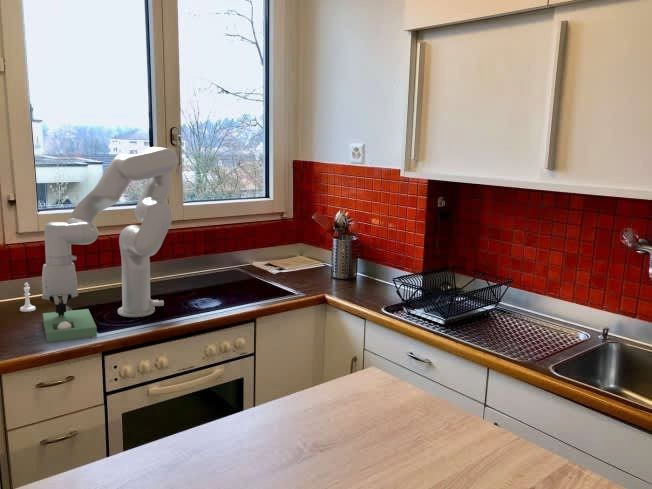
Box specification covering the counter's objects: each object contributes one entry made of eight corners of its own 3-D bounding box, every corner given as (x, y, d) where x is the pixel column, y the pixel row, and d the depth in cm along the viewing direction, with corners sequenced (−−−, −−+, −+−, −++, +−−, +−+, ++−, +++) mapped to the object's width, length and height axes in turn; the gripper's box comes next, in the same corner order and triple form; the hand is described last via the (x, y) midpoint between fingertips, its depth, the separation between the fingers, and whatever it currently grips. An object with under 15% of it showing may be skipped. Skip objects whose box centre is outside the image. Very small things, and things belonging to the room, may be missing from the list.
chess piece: (28, 312, 192) (27, 284, 190) (16, 310, 193) (15, 283, 191) (38, 308, 197) (37, 281, 195) (26, 306, 198) (25, 280, 196)
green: (88, 317, 190) (88, 308, 190) (96, 336, 173) (96, 327, 173) (43, 321, 183) (42, 313, 183) (47, 342, 166) (46, 332, 166)
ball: (65, 336, 171) (62, 336, 174) (75, 327, 173) (72, 327, 176) (55, 327, 170) (53, 328, 173) (66, 318, 172) (63, 318, 175)
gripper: (82, 256, 184) (84, 308, 188) (32, 259, 177) (34, 314, 180) (85, 261, 178) (87, 315, 181) (33, 264, 170) (36, 321, 174)
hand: (61, 314), depth 181 cm, fingers closed
